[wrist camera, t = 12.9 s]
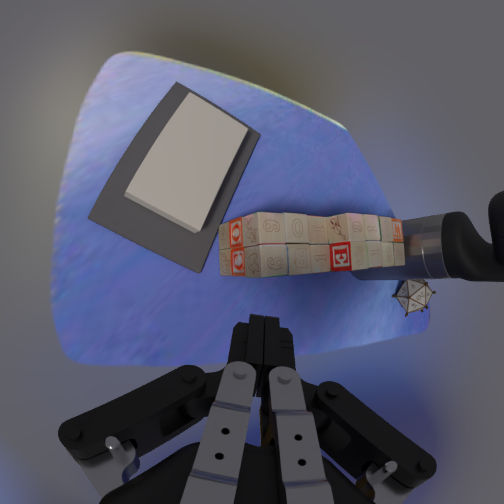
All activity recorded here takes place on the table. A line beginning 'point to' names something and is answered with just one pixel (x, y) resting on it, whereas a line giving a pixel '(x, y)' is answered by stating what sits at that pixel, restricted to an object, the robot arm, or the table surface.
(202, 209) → the tile
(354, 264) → the stack of blocks
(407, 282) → the game die
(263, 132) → the table surface
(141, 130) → the mat
